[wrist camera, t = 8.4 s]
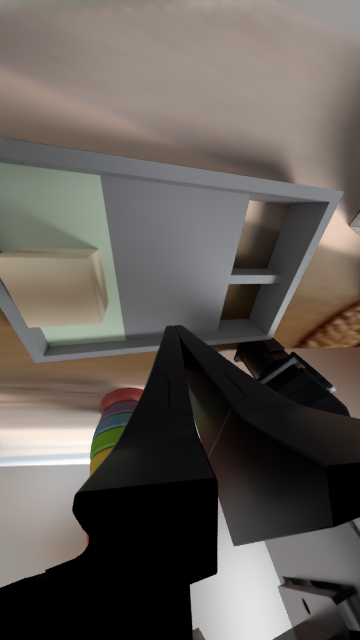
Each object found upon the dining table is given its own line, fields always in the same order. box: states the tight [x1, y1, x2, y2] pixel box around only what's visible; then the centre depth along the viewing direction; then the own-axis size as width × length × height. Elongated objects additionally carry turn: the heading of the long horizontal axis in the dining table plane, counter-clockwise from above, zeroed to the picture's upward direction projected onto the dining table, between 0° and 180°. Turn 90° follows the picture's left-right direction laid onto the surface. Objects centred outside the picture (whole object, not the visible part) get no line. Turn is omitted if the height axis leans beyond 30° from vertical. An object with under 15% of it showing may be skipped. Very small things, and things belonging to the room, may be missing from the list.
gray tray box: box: [0, 138, 344, 363], centre depth 17 cm, size 17×29×4 cm, turn 86°
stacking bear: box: [87, 389, 143, 546], centre depth 24 cm, size 11×10×18 cm
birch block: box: [0, 246, 109, 328], centre depth 12 cm, size 5×5×4 cm
